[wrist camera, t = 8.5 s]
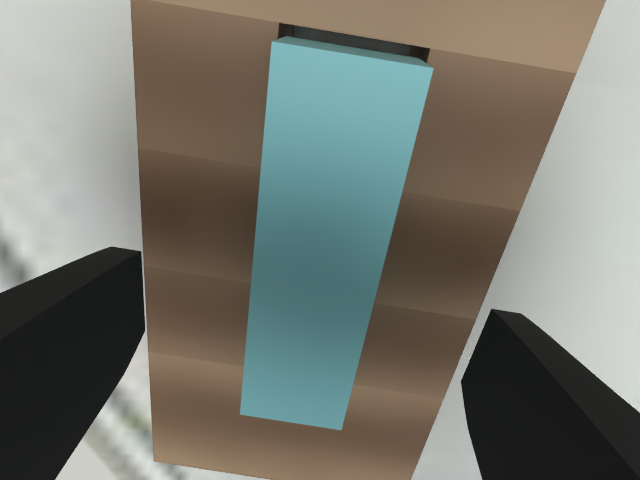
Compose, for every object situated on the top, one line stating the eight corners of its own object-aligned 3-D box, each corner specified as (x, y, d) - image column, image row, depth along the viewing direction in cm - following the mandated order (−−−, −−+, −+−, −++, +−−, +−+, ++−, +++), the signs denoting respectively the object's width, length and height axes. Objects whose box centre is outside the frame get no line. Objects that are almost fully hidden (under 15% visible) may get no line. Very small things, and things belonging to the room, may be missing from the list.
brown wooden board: (395, 434, 20) (402, 500, 17) (180, 400, 20) (153, 461, 17) (626, -221, 10) (731, -309, 7) (177, -302, 9) (109, -424, 7)
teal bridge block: (343, 321, 17) (341, 430, 13) (268, 309, 17) (239, 414, 13) (404, 48, 12) (433, 68, 8) (300, 31, 12) (271, 41, 8)
